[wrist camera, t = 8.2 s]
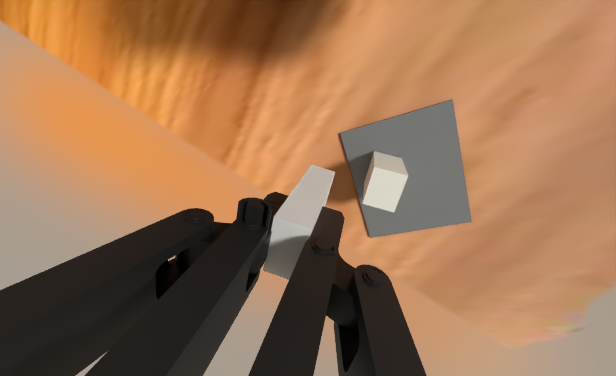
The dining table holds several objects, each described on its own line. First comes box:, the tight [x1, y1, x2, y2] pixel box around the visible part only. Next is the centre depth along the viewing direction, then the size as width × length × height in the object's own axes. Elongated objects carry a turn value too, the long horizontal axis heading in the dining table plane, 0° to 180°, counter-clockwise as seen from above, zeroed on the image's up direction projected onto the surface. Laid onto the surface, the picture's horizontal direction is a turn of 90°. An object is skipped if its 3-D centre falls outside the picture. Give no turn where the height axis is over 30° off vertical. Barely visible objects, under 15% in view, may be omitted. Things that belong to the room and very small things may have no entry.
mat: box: [340, 100, 472, 238], centre depth 38 cm, size 18×15×1 cm
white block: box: [362, 151, 408, 212], centre depth 35 cm, size 4×5×8 cm
